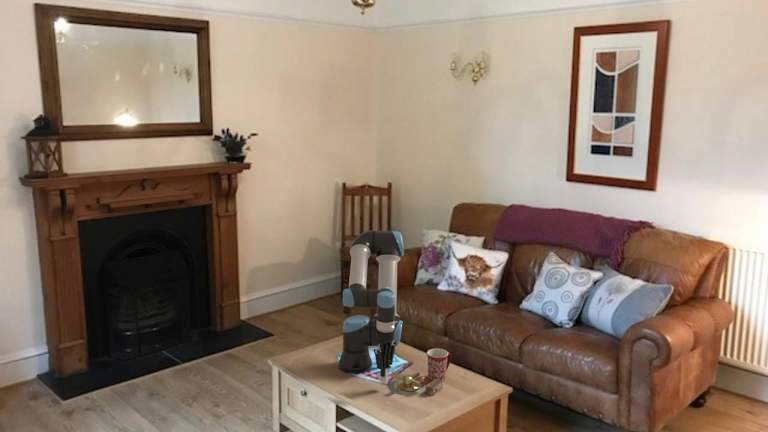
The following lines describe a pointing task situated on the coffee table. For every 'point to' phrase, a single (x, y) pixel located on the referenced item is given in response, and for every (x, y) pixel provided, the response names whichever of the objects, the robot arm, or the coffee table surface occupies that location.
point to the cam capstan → (408, 381)
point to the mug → (438, 364)
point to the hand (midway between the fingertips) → (384, 382)
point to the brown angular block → (433, 387)
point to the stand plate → (400, 391)
